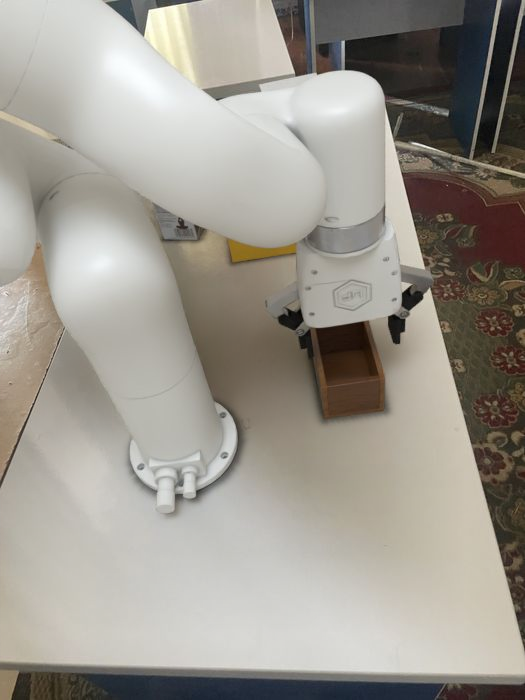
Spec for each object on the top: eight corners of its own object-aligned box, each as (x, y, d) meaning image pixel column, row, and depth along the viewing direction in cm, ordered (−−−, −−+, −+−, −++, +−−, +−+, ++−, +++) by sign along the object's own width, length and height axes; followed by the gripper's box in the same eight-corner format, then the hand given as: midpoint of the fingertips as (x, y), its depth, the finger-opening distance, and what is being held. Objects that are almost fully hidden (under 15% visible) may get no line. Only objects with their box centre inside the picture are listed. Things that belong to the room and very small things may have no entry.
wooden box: (384, 410, 66) (385, 378, 61) (324, 419, 66) (321, 387, 62) (366, 347, 73) (367, 314, 68) (312, 355, 73) (309, 322, 68)
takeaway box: (297, 253, 87) (293, 214, 82) (232, 262, 87) (224, 225, 82) (288, 207, 95) (284, 170, 90) (229, 217, 95) (221, 180, 90)
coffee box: (179, 207, 99) (154, 119, 87) (213, 207, 98) (193, 118, 86) (162, 240, 94) (133, 151, 82) (199, 241, 92) (175, 150, 80)
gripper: (252, 262, 50) (279, 380, 63) (451, 227, 49) (437, 354, 61) (247, 212, 55) (273, 331, 68) (427, 179, 54) (419, 306, 66)
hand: (351, 342), depth 64 cm, fingers open, 9 cm apart
